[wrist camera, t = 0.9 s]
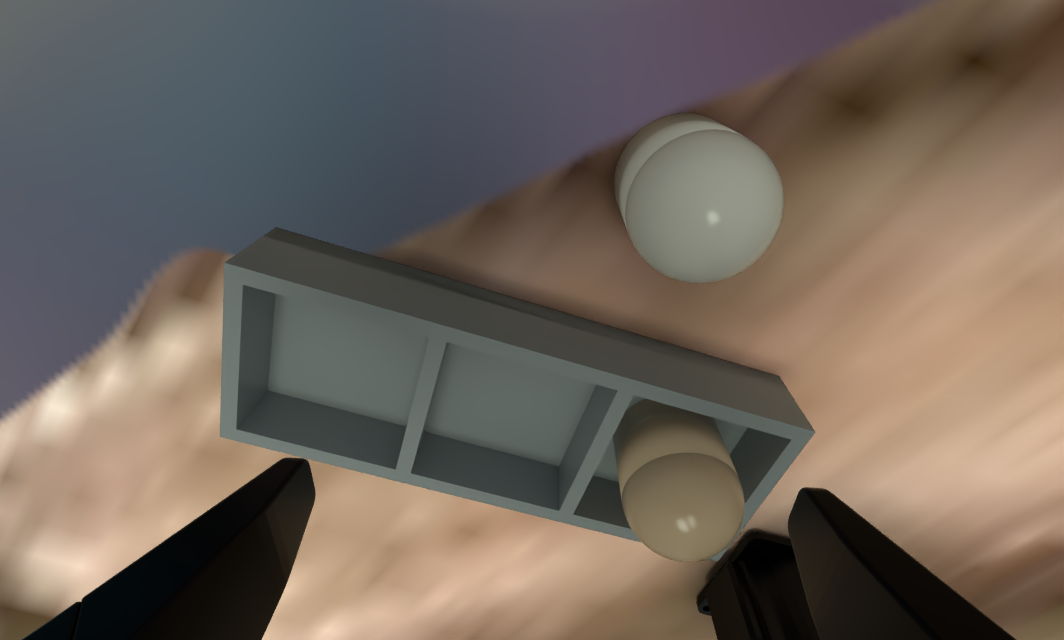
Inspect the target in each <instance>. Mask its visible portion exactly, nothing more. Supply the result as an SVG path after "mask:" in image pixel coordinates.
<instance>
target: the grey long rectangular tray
mask: <svg viewBox="0 0 1064 640" xmlns="http://www.w3.org/2000/svg"><path fill="white" fill-rule="evenodd" d="M644 399H649V400H653V401H656V402H660V403H663V404H667V405H671V406H674V407H678V408H681V409H685V410H688V411H692V412H695V413H699V414H702V415H706V416H709V417H713V418H714V419H715V421H716V424H717V426H718V429H719V431H720V434H721V436H722V438H723V441H724V443H725V446H726V448H727V450H728V453H729V455H730V458H731V460H732V463H733V465H734V467H735V470H736V472H737V475H738V477H739V480H740V483H741V486H742V489H743V494H744V501H745V505H744V516H743V520H742V525H741V527H740V529H739V531H738V533H737V535H736V537H737V536H738V534H739V533H740V532H741V530H742V529H743V528H744V526H745V525H746V524H747V522H748V521H749V520H750V518H751V517H752V516H753V514H754V513H755V512H756V510H757V509H758V508H759V506H760V505H761V504H762V502H763V501H764V500H765V498H766V497H767V496H768V494H769V493H770V492H771V490H772V489H773V488H774V486H775V485H776V484H777V482H778V481H779V480H780V478H781V477H782V476H783V474H784V473H785V472H786V470H787V469H788V468H789V466H790V465H791V464H792V462H793V461H794V460H795V458H796V457H797V456H798V454H799V453H800V452H801V450H802V449H803V448H804V446H805V445H806V444H807V442H808V441H809V440H810V438H811V437H812V436H813V434H814V433H815V431H814V429H813V428H812V426H811V424H810V423H809V421H808V420H807V418H806V417H805V415H804V414H803V412H802V411H801V409H800V408H799V406H798V405H797V403H796V402H795V400H794V398H793V397H792V395H791V394H790V392H789V391H788V389H787V388H786V386H785V385H784V383H783V382H782V380H781V379H780V377H779V376H776V375H772V374H769V373H766V372H762V371H759V370H756V369H752V368H749V367H745V366H742V365H739V364H735V363H732V362H729V361H725V360H722V359H718V358H715V357H712V356H708V355H705V354H702V353H698V352H695V351H692V350H688V349H685V348H681V347H678V346H675V345H671V344H668V343H665V342H661V341H658V340H654V339H651V338H648V337H644V336H641V335H638V334H634V333H631V332H628V331H624V330H621V329H617V328H614V327H611V326H607V325H604V324H601V323H597V322H594V321H590V320H587V319H584V318H580V317H577V316H574V315H570V314H567V313H563V312H560V311H557V310H553V309H550V308H547V307H543V306H540V305H537V304H533V303H530V302H526V301H523V300H520V299H516V298H513V297H510V296H506V295H503V294H499V293H496V292H493V291H489V290H486V289H483V288H479V287H476V286H472V285H469V284H466V283H462V282H459V281H456V280H452V279H449V278H446V277H442V276H439V275H435V274H432V273H429V272H425V271H422V270H419V269H415V268H412V267H408V266H405V265H402V264H398V263H395V262H392V261H388V260H385V259H382V258H378V257H375V256H371V255H368V254H365V253H361V252H357V251H355V250H351V249H348V248H344V247H341V246H338V245H334V244H331V243H327V242H324V241H321V240H317V239H314V238H310V237H307V236H304V235H301V234H297V233H294V232H290V231H287V230H283V229H280V228H277V227H276V228H274V229H273V230H271V231H270V232H269V233H267V234H265V235H264V236H263V237H261V238H260V239H258V240H257V241H255V242H254V243H252V244H251V245H249V246H248V247H247V248H245V249H244V250H242V251H241V252H239V253H238V254H236V255H235V256H234V257H232V258H231V259H229V260H228V261H226V262H225V263H224V298H223V337H222V376H221V414H220V437H223V438H227V439H231V440H235V441H239V442H243V443H247V444H251V445H255V446H259V447H263V448H267V449H271V450H275V451H279V452H283V453H287V454H291V455H295V456H299V457H303V458H307V459H311V460H315V461H319V462H323V463H327V464H331V465H334V466H338V467H342V468H346V469H350V470H354V471H358V472H362V473H366V474H370V475H374V476H378V477H382V478H386V479H390V480H394V481H398V482H402V483H406V484H410V485H414V486H418V487H422V488H426V489H430V490H434V491H438V492H442V493H446V494H450V495H454V496H458V497H462V498H466V499H470V500H474V501H478V502H482V503H486V504H490V505H494V506H498V507H502V508H506V509H510V510H514V511H518V512H522V513H526V514H530V515H534V516H538V517H542V518H546V519H550V520H554V521H558V522H562V523H566V524H570V525H574V526H578V527H582V528H586V529H590V530H594V531H598V532H602V533H606V534H610V535H614V536H618V537H622V538H626V539H630V540H634V541H638V542H641V541H640V540H639V539H638V537H637V536H636V535H635V534H634V532H633V531H632V529H631V527H630V526H629V524H628V522H627V519H626V517H625V514H624V510H623V506H622V500H621V493H620V486H619V479H618V472H617V465H616V458H615V451H614V444H613V435H614V433H615V431H616V429H617V427H618V425H619V423H620V421H621V419H622V417H623V415H624V413H625V411H626V410H627V409H628V408H630V407H631V406H632V405H634V404H636V403H637V402H639V401H641V400H644ZM736 537H735V538H736ZM735 538H734V539H735ZM733 541H734V540H733ZM733 541H732V542H733ZM732 542H731V543H732ZM731 543H730V545H731ZM730 545H729V546H730ZM729 546H728V547H729ZM728 547H727V548H725V549H724V550H723V551H721V552H720V553H719V554H717V555H715V556H713V557H711V558H709V559H710V560H714V561H719V559H720V558H721V557H722V555H723V554H724V553H725V551H726V550H727V549H728Z"/></svg>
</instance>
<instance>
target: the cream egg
mask: <svg viewBox="0 0 1064 640" xmlns="http://www.w3.org/2000/svg"><path fill="white" fill-rule="evenodd" d="M614 192H615V197H616V201H617V204H618V207H619V209H620V212H621V215H622V218H623V220H624V223H625V226H626V228H627V231H628V234H629V236H630V239H631V241H632V243H633V245H634V247H635V249H636V250H637V252H638V253H639V255H640V256H641V257H642V258H643V259H644V260H645V261H646V262H647V263H648V264H649V265H650V266H651V267H652V268H654V269H655V270H657V271H658V272H660V273H661V274H663V275H665V276H667V277H670V278H673V279H675V280H679V281H683V282H688V283H709V282H716V281H720V280H724V279H727V278H730V277H732V276H734V275H736V274H738V273H740V272H742V271H744V270H745V269H747V268H748V267H750V266H751V265H752V264H754V263H755V262H756V261H757V260H758V259H759V258H760V257H761V256H762V255H763V254H764V253H765V251H766V250H767V249H768V248H769V246H770V245H771V243H772V241H773V240H774V238H775V236H776V234H777V232H778V229H779V226H780V223H781V220H782V215H783V209H784V195H783V186H782V182H781V178H780V176H779V173H778V171H777V169H776V167H775V165H774V164H773V162H772V160H771V159H770V157H769V156H768V155H767V154H766V152H765V151H764V150H762V149H761V148H760V147H759V146H758V145H757V144H756V143H754V142H753V141H751V140H750V139H748V138H746V137H745V136H743V135H741V134H739V133H737V132H735V131H734V130H732V129H730V128H728V127H726V126H724V125H722V124H721V123H719V122H717V121H715V120H713V119H711V118H709V117H706V116H703V115H699V114H693V113H678V114H671V115H668V116H664V117H661V118H659V119H657V120H655V121H653V122H651V123H649V124H648V125H646V126H645V127H644V128H642V129H641V130H640V131H639V132H638V133H637V134H635V135H634V136H633V137H632V139H631V140H630V141H629V142H628V144H627V145H626V147H625V148H624V150H623V152H622V154H621V156H620V158H619V160H618V163H617V166H616V170H615V176H614Z"/></svg>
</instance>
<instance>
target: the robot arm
mask: <svg viewBox="0 0 1064 640" xmlns="http://www.w3.org/2000/svg"><path fill="white" fill-rule="evenodd" d="M314 501H315V487H314V482H313V478H312V473H311V469H310V465H309V462H308V461H307V460H306V459H303V458H283V459H281V460H280V461H278V462H277V463H275V464H274V465H272V466H271V467H270V468H268V469H267V470H265V471H264V472H262V473H261V474H260V475H258V476H257V477H255V478H254V479H252V480H251V481H249V482H248V483H247V484H245V485H244V486H242V487H241V488H239V489H238V490H237V491H235V492H234V493H232V494H231V495H229V496H228V497H227V498H225V499H224V500H222V501H221V502H219V503H218V504H217V505H215V506H214V507H212V508H211V509H209V510H208V511H206V512H205V513H204V514H202V515H201V516H199V517H198V518H196V519H195V520H194V521H192V522H191V523H189V524H188V525H186V526H185V527H184V528H182V529H181V530H179V531H178V532H176V533H175V534H174V535H172V536H171V537H169V538H168V539H166V540H165V541H164V542H162V543H161V544H159V545H158V546H156V547H155V548H153V549H152V550H151V551H149V552H148V553H146V554H145V555H143V556H142V557H141V558H139V559H138V560H136V561H135V562H133V563H132V564H131V565H129V566H128V567H126V568H125V569H123V570H122V571H121V572H119V573H118V574H116V575H115V576H113V577H112V578H110V579H109V580H108V581H106V582H105V583H103V584H102V585H100V586H99V587H98V588H96V589H95V590H93V591H92V592H90V593H89V594H88V595H86V596H85V597H84V598H83V599H82V601H81V602H76V603H74V604H73V605H72V606H70V607H69V608H67V609H66V610H64V611H63V612H61V613H60V614H59V615H57V616H56V617H54V618H53V619H51V620H50V621H49V622H47V623H46V624H44V625H43V626H41V627H40V628H38V629H37V630H35V631H34V632H32V633H31V634H29V635H28V636H26V637H25V638H23V639H22V640H262V638H263V635H264V633H265V631H266V629H267V627H268V624H269V622H270V620H271V618H272V616H273V613H274V611H275V609H276V607H277V605H278V602H279V600H280V598H281V596H282V593H283V591H284V589H285V586H286V584H287V581H288V579H289V576H290V573H291V570H292V567H293V565H294V562H295V559H296V556H297V553H298V550H299V547H300V544H301V541H302V538H303V535H304V532H305V529H306V526H307V523H308V520H309V517H310V514H311V511H312V508H313V505H314ZM788 531H789V535H790V539H791V540H788V539H784V538H780V537H776V536H773V535H769V534H765V533H761V532H752V533H749V534H748V535H747V536H746V537H745V538H744V539H743V540H742V542H741V543H740V544H739V546H738V547H737V548H736V550H735V551H734V552H733V554H732V555H731V556H730V557H729V559H728V560H727V561H726V563H725V564H724V565H723V567H722V568H721V569H720V571H719V572H718V573H717V574H716V576H715V577H714V578H713V580H712V581H711V582H710V584H709V585H708V586H707V588H706V589H705V590H704V591H703V593H702V594H701V595H700V597H699V598H698V599H697V601H696V602H697V607H698V611H699V612H700V613H703V614H706V615H711V616H712V620H713V624H714V628H715V631H716V635H717V639H718V640H1016V639H1015V638H1014V637H1012V636H1011V635H1010V634H1009V633H1007V632H1006V631H1005V630H1004V629H1002V628H1001V627H1000V626H999V625H997V624H996V623H995V622H994V621H992V620H991V619H990V618H989V617H987V616H986V615H985V614H984V613H982V612H981V611H980V610H978V609H977V608H976V607H975V606H973V605H972V604H971V603H970V602H968V601H967V600H966V599H965V598H963V597H962V596H961V595H960V594H958V593H957V592H956V591H955V590H953V589H952V588H951V587H950V586H948V585H947V584H946V583H944V582H943V581H942V580H941V579H939V578H938V577H937V576H936V575H934V574H933V573H932V572H931V571H929V570H928V569H927V568H926V567H924V566H923V565H922V564H921V563H919V562H918V561H917V560H916V559H914V558H913V557H912V556H910V555H909V554H908V553H907V552H905V551H904V550H903V549H902V548H900V547H899V546H898V545H897V544H895V543H894V542H893V541H892V540H890V539H889V538H888V537H887V536H885V535H884V534H883V533H882V532H880V531H879V530H878V529H876V528H875V527H874V526H873V525H871V524H870V523H869V522H868V521H866V520H865V519H864V518H863V517H861V516H860V515H859V514H858V513H856V512H855V511H854V510H853V509H851V508H850V507H849V506H848V505H846V504H845V503H844V502H842V501H841V500H840V499H839V498H837V497H836V496H835V495H834V494H832V493H831V492H830V491H828V490H826V489H823V488H808V487H805V488H802V489H801V490H800V491H799V493H798V495H797V498H796V500H795V503H794V505H793V508H792V511H791V513H790V516H789V519H788Z"/></svg>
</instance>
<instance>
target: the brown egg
mask: <svg viewBox="0 0 1064 640" xmlns="http://www.w3.org/2000/svg"><path fill="white" fill-rule="evenodd" d="M613 444H614V451H615V458H616V465H617V472H618V479H619V486H620V493H621V500H622V506H623V510H624V514H625V517H626V519H627V522H628V524H629V526H630V527H631V529H632V531H633V532H634V534H635V535H636V536H637V537H638V539H639V540H640V541H641V542H642V543H643V544H644V545H645V546H647V547H648V548H649V549H651V550H652V551H653V552H655V553H657V554H659V555H661V556H663V557H665V558H668V559H671V560H675V561H680V562H696V561H702V560H706V559H709V558H711V557H713V556H715V555H717V554H719V553H720V552H721V551H723V550H724V549H725V548H727V547H728V546H729V545H730V543H731V542H732V541H733V540H734V538H735V537H736V535H737V533H738V531H739V529H740V527H741V525H742V520H743V516H744V505H745V501H744V494H743V489H742V486H741V483H740V480H739V477H738V475H737V472H736V470H735V467H734V465H733V463H732V460H731V458H730V455H729V453H728V450H727V448H726V446H725V443H724V441H723V438H722V436H721V434H720V431H719V429H718V426H717V424H716V421H715V419H714V418H713V417H709V416H706V415H702V414H699V413H695V412H692V411H688V410H685V409H681V408H678V407H674V406H671V405H667V404H663V403H660V402H656V401H653V400H649V399H644V400H641V401H639V402H637V403H636V404H634V405H632V406H631V407H630V408H628V409H627V410H626V411H625V413H624V415H623V417H622V419H621V421H620V423H619V425H618V427H617V429H616V431H615V433H614V435H613Z"/></svg>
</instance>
